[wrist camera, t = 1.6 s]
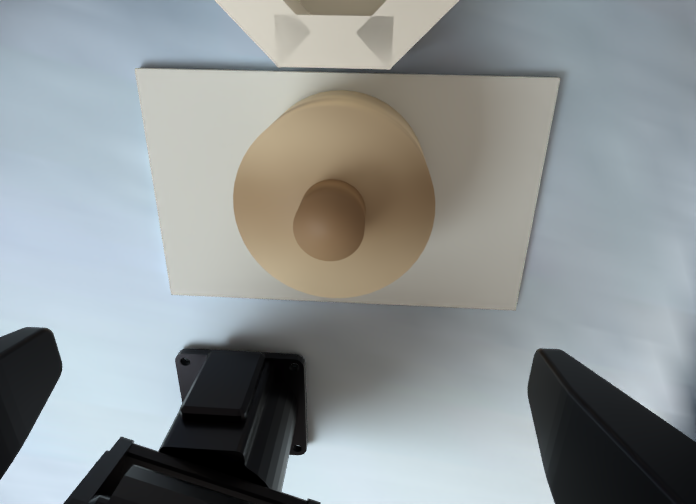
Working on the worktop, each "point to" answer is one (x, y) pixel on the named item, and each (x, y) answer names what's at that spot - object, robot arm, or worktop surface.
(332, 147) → the lid
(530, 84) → the mat
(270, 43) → the bowl
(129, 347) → the worktop surface
